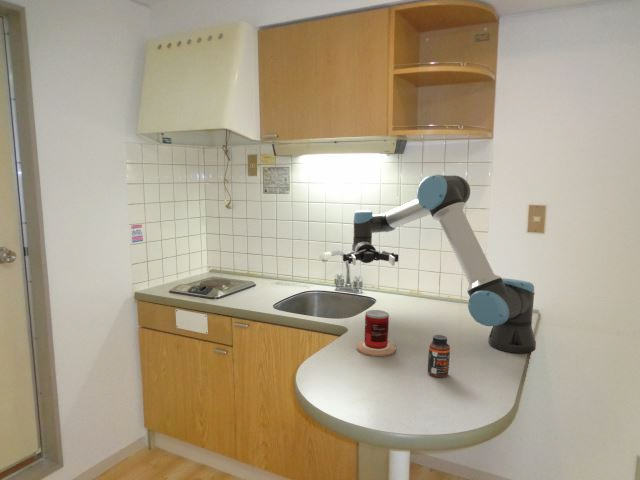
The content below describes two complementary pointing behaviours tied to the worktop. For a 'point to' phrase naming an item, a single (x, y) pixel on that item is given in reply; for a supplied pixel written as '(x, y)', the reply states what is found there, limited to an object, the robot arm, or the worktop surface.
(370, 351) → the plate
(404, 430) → the worktop surface
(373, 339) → the canned food
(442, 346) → the supplement bottle
